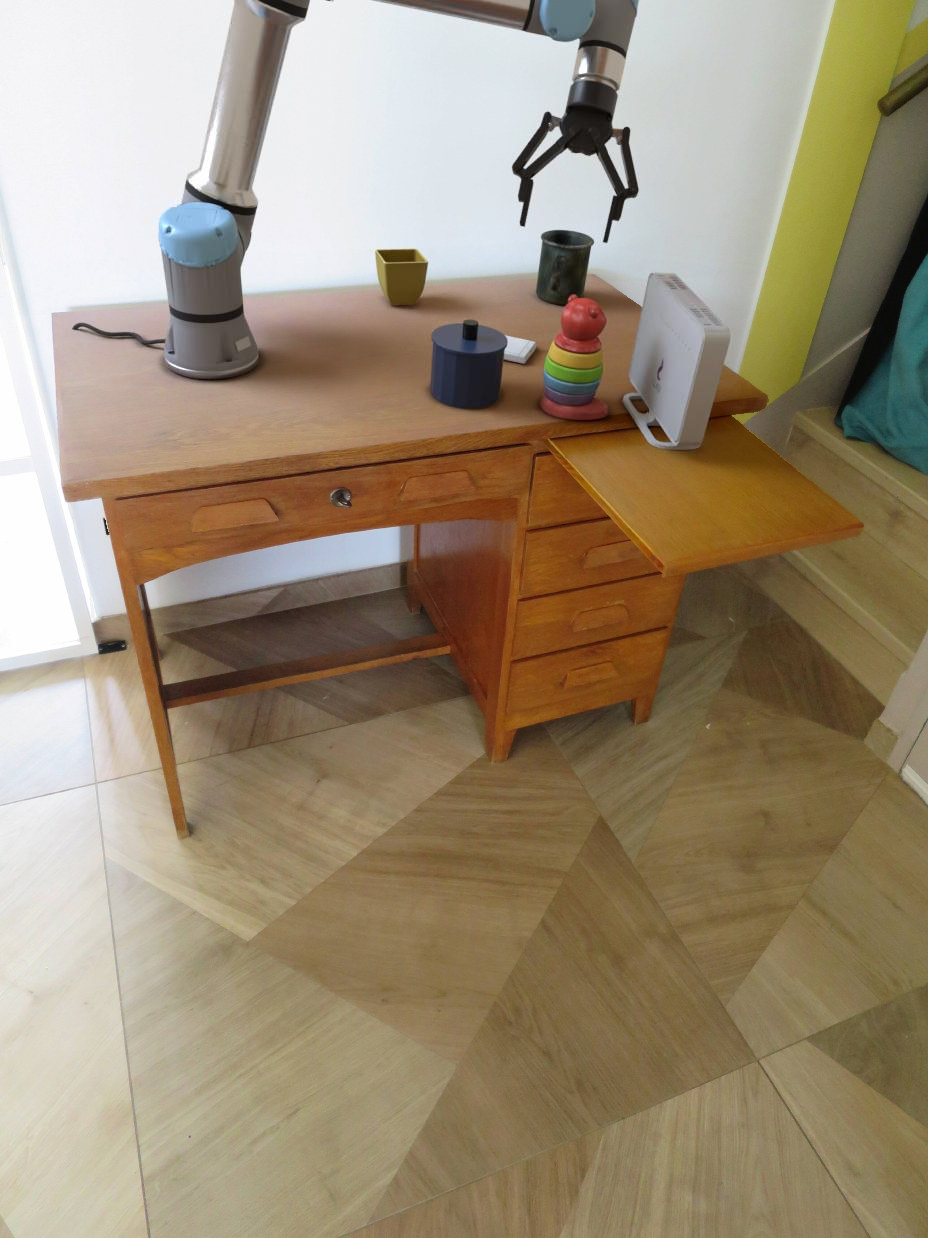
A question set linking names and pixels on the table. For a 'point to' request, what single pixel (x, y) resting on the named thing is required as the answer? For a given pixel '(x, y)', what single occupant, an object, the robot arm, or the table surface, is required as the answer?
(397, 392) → the table surface
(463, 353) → the pot lid
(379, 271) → the flower pot
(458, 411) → the table surface
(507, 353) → the hard drive
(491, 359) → the pot
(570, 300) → the stacking bear
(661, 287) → the network device
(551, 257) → the mug
